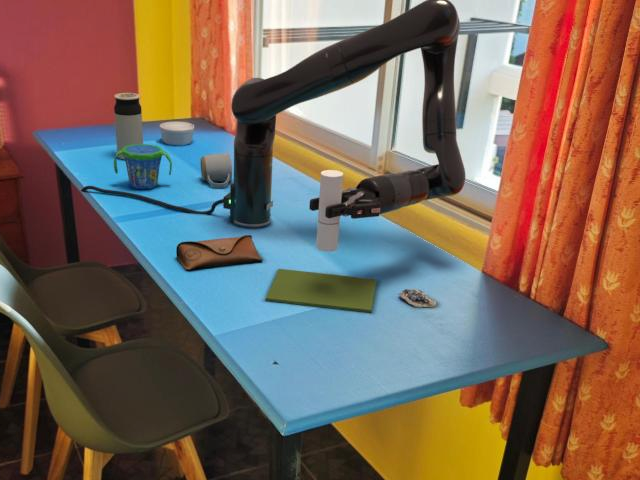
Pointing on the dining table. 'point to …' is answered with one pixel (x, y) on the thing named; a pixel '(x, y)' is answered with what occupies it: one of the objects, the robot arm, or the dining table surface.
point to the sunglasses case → (217, 252)
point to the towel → (323, 290)
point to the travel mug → (128, 121)
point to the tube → (328, 197)
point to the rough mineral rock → (417, 298)
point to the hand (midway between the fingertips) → (319, 209)
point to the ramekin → (177, 133)
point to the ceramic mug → (216, 169)
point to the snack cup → (142, 164)
